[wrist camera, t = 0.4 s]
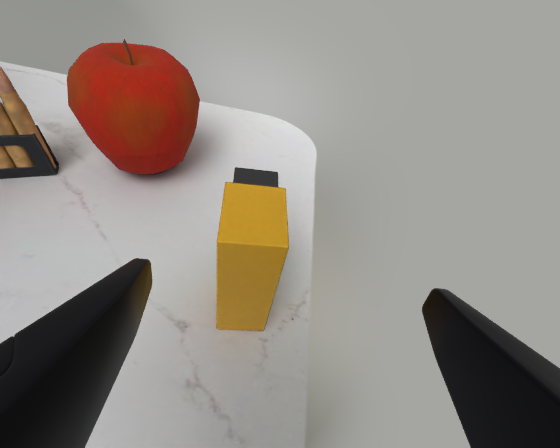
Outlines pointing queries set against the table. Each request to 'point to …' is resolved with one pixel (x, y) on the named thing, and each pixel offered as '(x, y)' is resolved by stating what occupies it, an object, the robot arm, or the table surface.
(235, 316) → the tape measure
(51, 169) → the ammunition clip
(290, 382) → the table surface
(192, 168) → the table surface
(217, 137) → the table surface
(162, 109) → the apple
